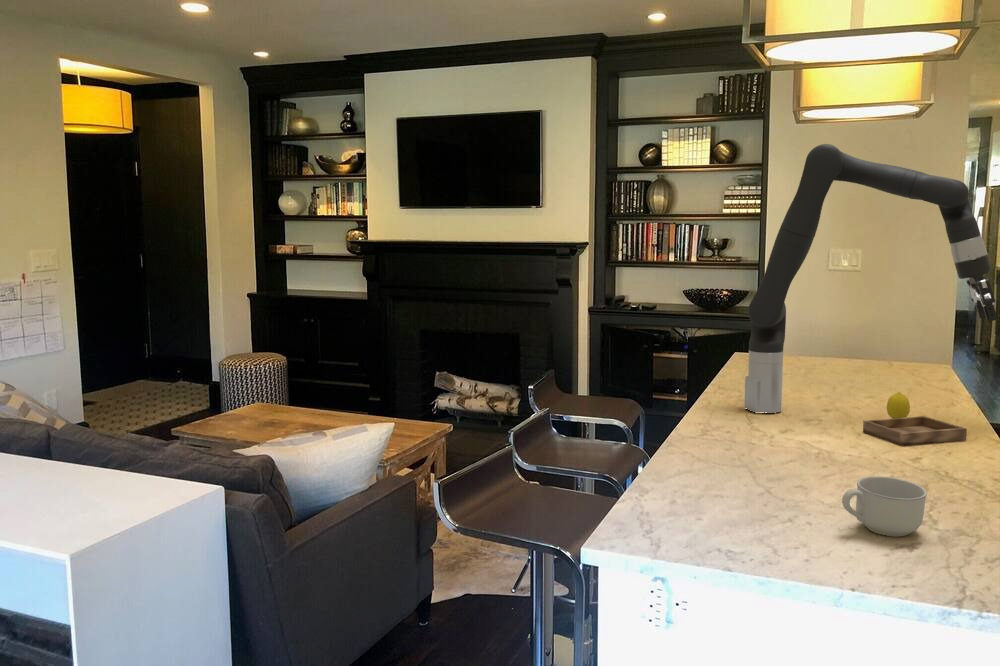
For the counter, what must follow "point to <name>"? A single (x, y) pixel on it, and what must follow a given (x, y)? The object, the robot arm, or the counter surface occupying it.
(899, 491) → the teacup
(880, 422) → the tray
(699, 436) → the counter surface
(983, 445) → the counter surface
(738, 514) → the counter surface
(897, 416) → the lemon
